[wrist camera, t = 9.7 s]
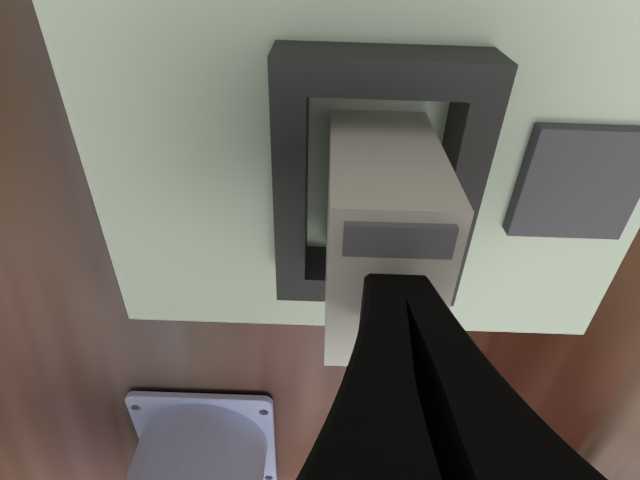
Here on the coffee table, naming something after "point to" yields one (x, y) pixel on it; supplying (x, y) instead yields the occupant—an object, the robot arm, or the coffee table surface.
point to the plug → (387, 214)
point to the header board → (314, 141)
